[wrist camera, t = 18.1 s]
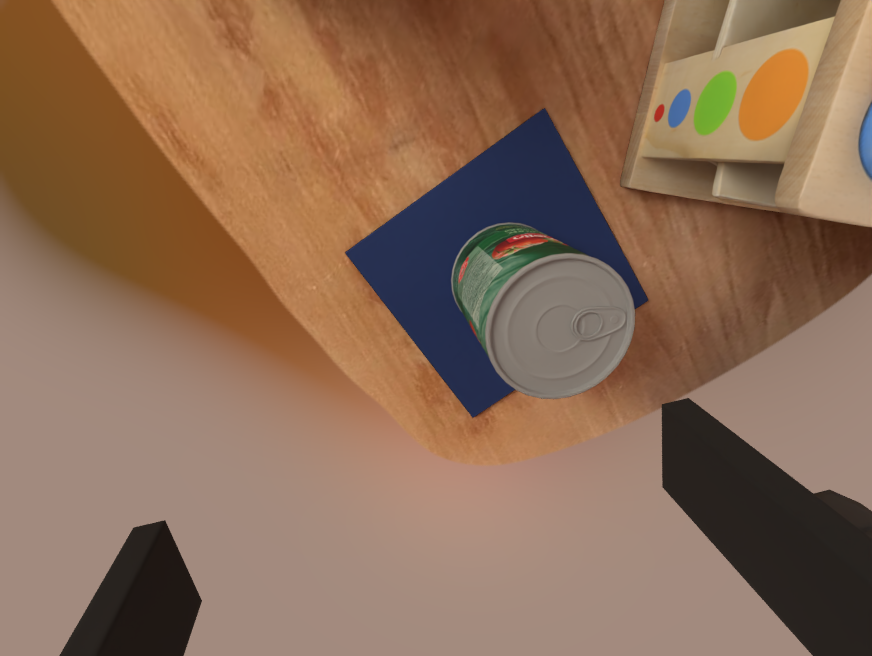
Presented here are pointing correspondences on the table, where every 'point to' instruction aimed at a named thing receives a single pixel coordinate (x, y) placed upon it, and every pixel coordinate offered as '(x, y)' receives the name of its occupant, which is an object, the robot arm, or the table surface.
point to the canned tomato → (542, 310)
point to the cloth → (459, 221)
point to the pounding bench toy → (759, 107)
